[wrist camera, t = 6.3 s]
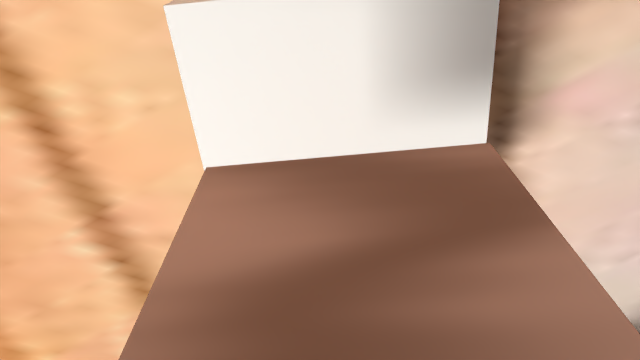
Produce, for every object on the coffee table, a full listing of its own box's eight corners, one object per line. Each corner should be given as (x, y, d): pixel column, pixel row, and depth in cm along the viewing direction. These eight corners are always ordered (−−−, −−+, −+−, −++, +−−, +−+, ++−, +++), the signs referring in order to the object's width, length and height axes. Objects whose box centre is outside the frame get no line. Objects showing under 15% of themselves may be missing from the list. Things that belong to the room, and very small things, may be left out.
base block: (460, -40, 15) (502, -29, 12) (448, 189, 20) (476, 246, 16) (197, -13, 16) (163, 5, 12) (243, 206, 20) (228, 265, 17)
